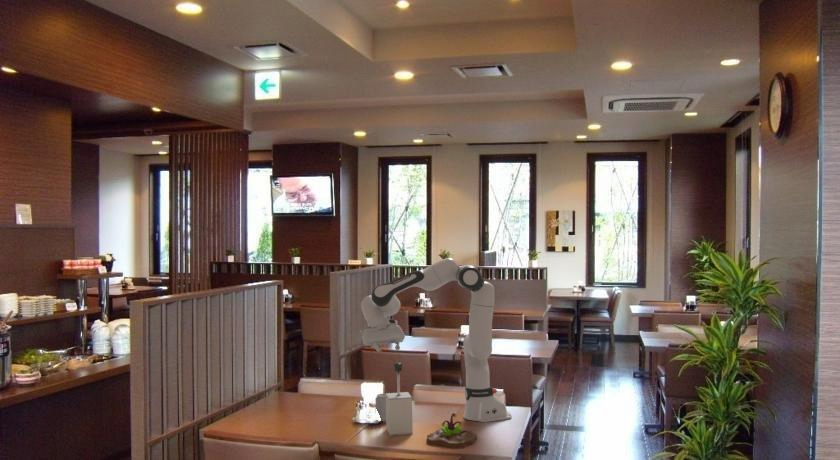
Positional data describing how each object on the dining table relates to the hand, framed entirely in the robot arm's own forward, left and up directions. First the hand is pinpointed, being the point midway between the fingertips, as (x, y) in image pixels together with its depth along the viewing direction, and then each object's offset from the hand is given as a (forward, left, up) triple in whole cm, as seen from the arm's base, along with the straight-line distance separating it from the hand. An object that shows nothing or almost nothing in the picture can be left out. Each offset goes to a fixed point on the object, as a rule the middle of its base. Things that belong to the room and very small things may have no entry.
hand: (389, 350), depth 307 cm
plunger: (-3, +8, -27) cm, 28 cm away
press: (-3, +8, -35) cm, 36 cm away
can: (+1, -12, -35) cm, 37 cm away
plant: (-22, +25, -35) cm, 49 cm away
